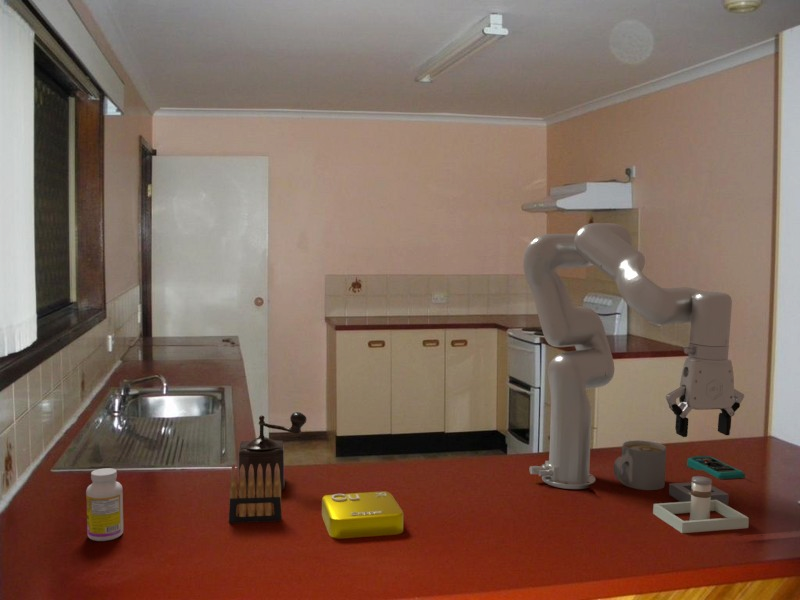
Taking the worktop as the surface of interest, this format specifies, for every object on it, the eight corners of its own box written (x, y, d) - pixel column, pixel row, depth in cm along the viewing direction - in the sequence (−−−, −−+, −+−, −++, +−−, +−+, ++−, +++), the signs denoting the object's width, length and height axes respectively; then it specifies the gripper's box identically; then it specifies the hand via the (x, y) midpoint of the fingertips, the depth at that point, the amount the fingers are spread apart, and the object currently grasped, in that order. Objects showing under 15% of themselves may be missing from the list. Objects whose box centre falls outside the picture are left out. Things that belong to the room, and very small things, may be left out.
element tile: (330, 541, 160) (330, 517, 159) (320, 514, 174) (320, 492, 174) (405, 535, 163) (405, 512, 162) (389, 509, 177) (389, 488, 177)
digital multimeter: (710, 465, 214) (710, 454, 213) (745, 483, 199) (746, 471, 199) (685, 467, 212) (685, 455, 212) (719, 485, 198) (719, 473, 197)
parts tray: (681, 537, 163) (682, 522, 163) (652, 518, 174) (653, 503, 173) (748, 532, 166) (748, 517, 166) (715, 513, 177) (716, 499, 177)
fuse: (696, 526, 168) (698, 482, 167) (685, 519, 171) (688, 476, 170) (713, 525, 168) (715, 481, 168) (702, 518, 172) (704, 475, 171)
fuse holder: (691, 512, 177) (692, 495, 177) (668, 498, 186) (669, 482, 186) (727, 509, 179) (728, 493, 179) (704, 496, 188) (704, 480, 188)
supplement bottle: (95, 528, 163) (94, 465, 162) (128, 529, 163) (127, 466, 161) (81, 542, 156) (79, 476, 155) (115, 542, 156) (114, 477, 155)
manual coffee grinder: (237, 494, 185) (237, 416, 183) (239, 478, 196) (239, 404, 194) (306, 491, 187) (307, 414, 185) (304, 476, 198) (305, 403, 196)
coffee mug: (649, 479, 200) (651, 439, 199) (672, 492, 190) (675, 450, 189) (600, 483, 197) (601, 442, 196) (621, 496, 187) (623, 453, 186)
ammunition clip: (281, 517, 171) (281, 461, 169) (281, 521, 169) (281, 464, 168) (229, 519, 169) (229, 463, 168) (228, 523, 167) (228, 465, 166)
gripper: (680, 356, 161) (674, 441, 163) (757, 355, 165) (751, 438, 167) (660, 349, 168) (655, 431, 170) (734, 348, 172) (728, 428, 174)
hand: (702, 434), depth 168 cm, fingers open, 9 cm apart
